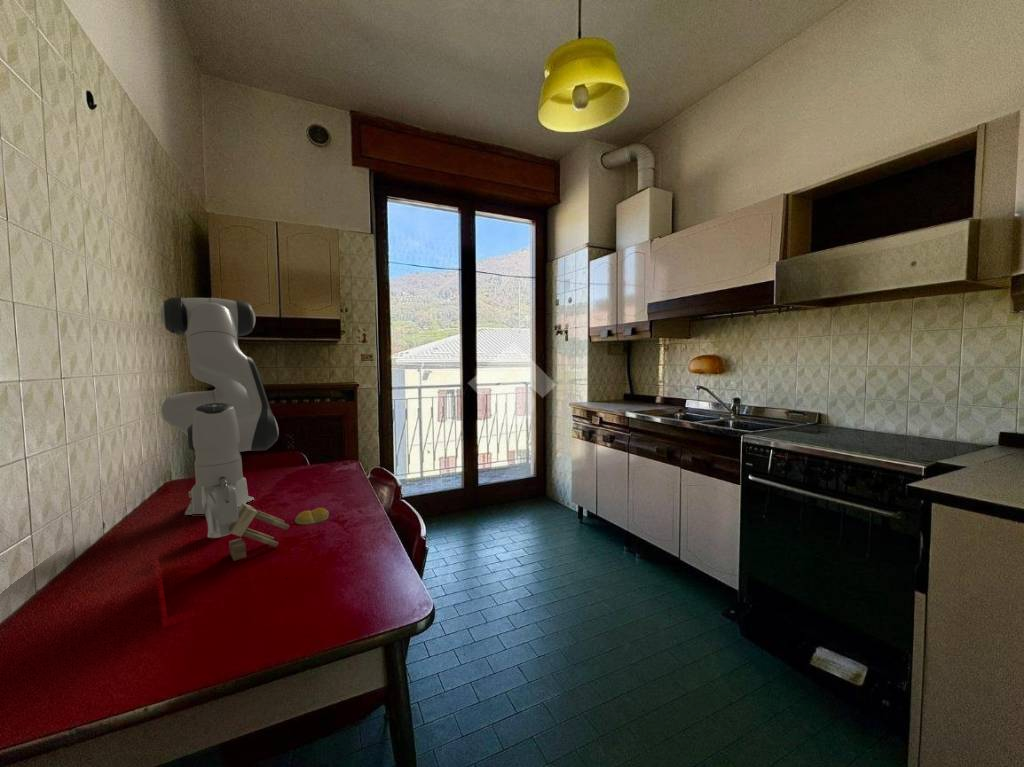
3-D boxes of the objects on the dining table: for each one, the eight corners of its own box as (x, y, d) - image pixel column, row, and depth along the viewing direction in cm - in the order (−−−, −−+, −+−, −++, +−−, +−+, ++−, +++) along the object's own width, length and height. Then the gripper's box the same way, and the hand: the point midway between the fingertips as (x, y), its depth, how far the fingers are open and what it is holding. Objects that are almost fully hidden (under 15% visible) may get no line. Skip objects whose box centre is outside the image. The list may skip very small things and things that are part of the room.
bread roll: (296, 521, 122) (295, 508, 122) (329, 515, 125) (328, 502, 125) (294, 531, 114) (293, 517, 114) (329, 525, 118) (328, 511, 118)
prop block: (230, 554, 99) (229, 541, 98) (242, 550, 100) (241, 537, 100) (233, 561, 95) (232, 547, 95) (246, 557, 97) (245, 543, 97)
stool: (269, 541, 105) (226, 526, 99) (284, 519, 107) (242, 502, 101) (275, 548, 100) (230, 533, 94) (290, 525, 103) (247, 508, 96)
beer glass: (242, 532, 115) (238, 478, 114) (222, 542, 108) (218, 486, 107) (219, 532, 116) (215, 479, 115) (198, 542, 109) (193, 486, 108)
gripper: (244, 479, 90) (248, 541, 90) (228, 464, 105) (233, 518, 105) (208, 485, 85) (213, 551, 86) (197, 469, 101) (202, 525, 101)
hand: (224, 532), depth 96 cm, fingers closed, pressing on stool
